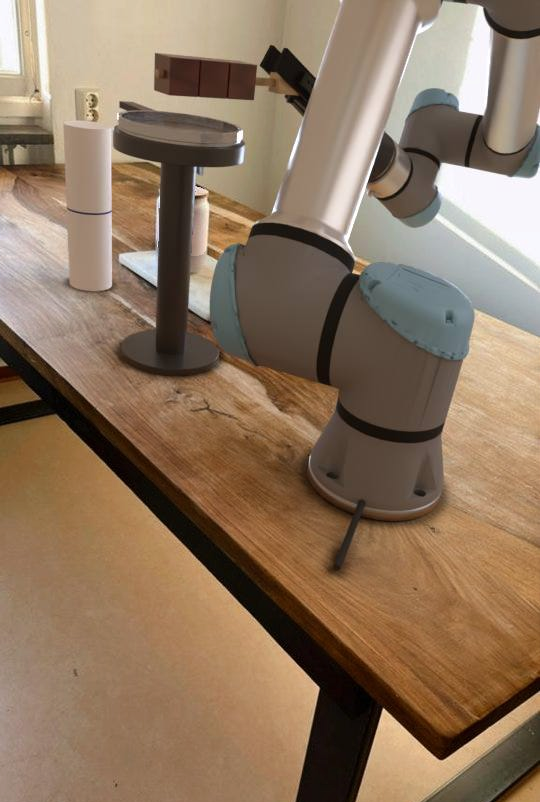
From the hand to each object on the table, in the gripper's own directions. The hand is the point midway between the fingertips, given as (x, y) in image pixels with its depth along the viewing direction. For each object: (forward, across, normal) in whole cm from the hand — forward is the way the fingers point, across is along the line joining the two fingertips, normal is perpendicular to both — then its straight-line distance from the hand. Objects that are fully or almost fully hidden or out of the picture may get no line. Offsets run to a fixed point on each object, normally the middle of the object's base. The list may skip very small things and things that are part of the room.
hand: (273, 57), depth 86 cm
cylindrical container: (-9, +30, -39) cm, 50 cm away
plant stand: (-8, +4, -39) cm, 40 cm away
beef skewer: (+1, 0, -6) cm, 6 cm away
